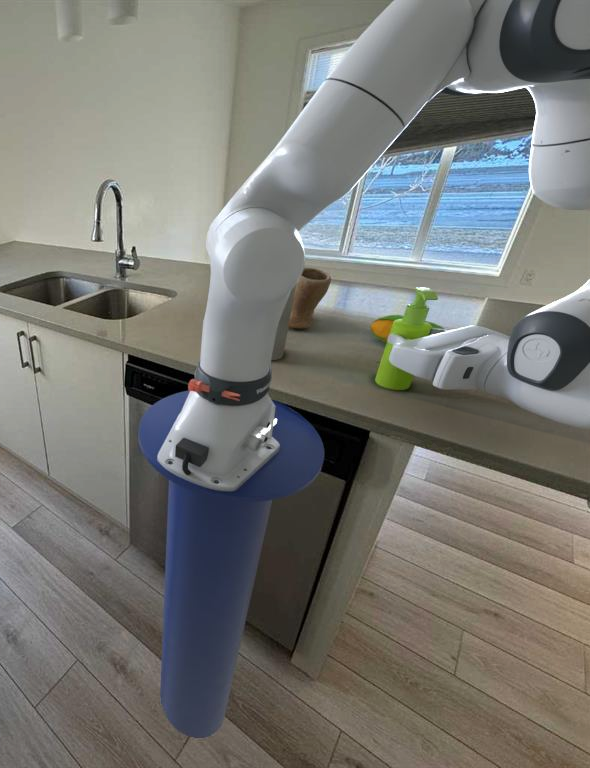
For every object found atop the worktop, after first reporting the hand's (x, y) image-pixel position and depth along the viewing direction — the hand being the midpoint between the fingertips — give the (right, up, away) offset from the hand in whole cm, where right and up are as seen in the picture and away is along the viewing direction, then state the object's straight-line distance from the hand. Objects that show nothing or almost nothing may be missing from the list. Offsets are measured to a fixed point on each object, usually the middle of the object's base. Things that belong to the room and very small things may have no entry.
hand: (406, 333), depth 78 cm
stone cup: (-2, +8, +36) cm, 37 cm away
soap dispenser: (+1, -10, +5) cm, 11 cm away
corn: (+15, -2, +17) cm, 23 cm away
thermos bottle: (-18, -2, +21) cm, 28 cm away
